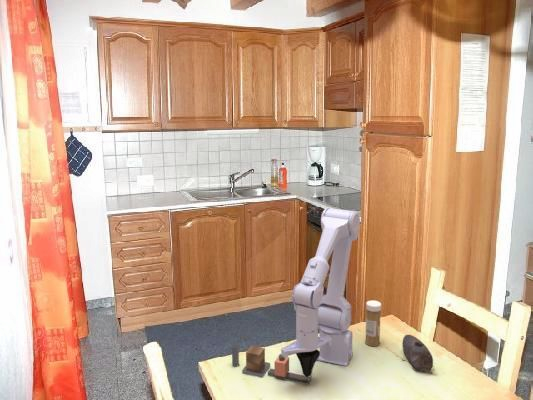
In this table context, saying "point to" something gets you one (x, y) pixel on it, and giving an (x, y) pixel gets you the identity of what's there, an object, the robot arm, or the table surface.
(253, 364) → the block
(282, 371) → the lever handle
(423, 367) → the perforated stone tool
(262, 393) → the table surface
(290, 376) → the rail
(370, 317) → the sprinkles bottle
